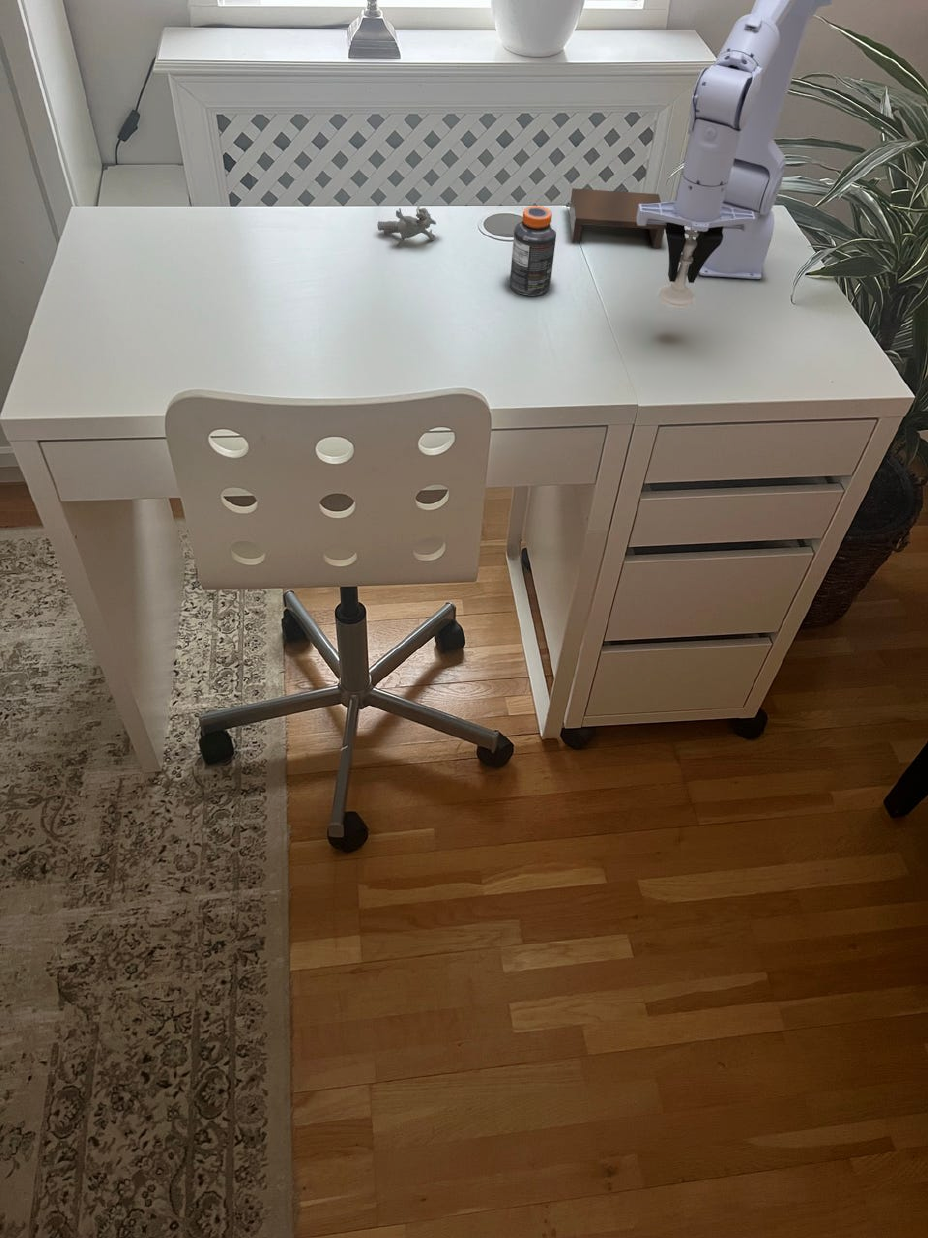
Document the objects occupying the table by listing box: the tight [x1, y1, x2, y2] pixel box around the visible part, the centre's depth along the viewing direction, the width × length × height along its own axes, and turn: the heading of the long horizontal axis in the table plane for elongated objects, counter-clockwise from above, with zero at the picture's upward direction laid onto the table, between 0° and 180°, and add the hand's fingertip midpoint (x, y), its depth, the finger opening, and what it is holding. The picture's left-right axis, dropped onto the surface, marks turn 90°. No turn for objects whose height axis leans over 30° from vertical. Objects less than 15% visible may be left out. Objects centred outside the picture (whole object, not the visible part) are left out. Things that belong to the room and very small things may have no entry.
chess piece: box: [657, 228, 699, 309], centre depth 126 cm, size 5×5×10 cm
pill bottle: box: [509, 205, 557, 296], centre depth 137 cm, size 6×6×11 cm
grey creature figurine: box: [377, 203, 437, 247], centre depth 146 cm, size 10×6×9 cm
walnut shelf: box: [568, 188, 665, 249], centre depth 153 cm, size 14×10×4 cm
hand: (680, 278), depth 128 cm, fingers closed on chess piece
